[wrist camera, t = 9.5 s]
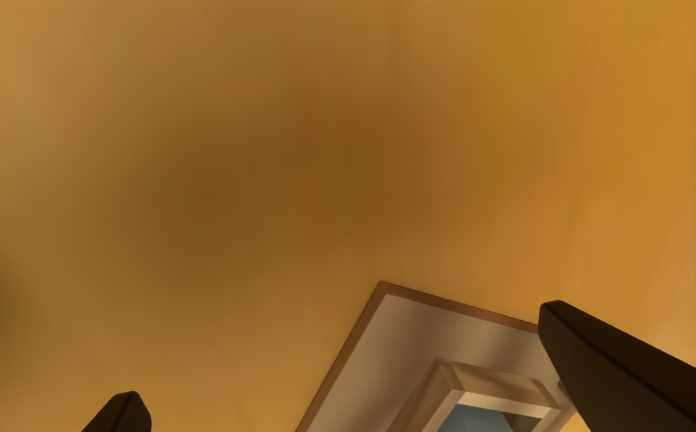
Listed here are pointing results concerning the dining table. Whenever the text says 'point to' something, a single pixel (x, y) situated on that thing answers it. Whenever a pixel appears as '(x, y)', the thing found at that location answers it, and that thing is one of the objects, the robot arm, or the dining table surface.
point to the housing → (436, 369)
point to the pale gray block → (474, 420)
